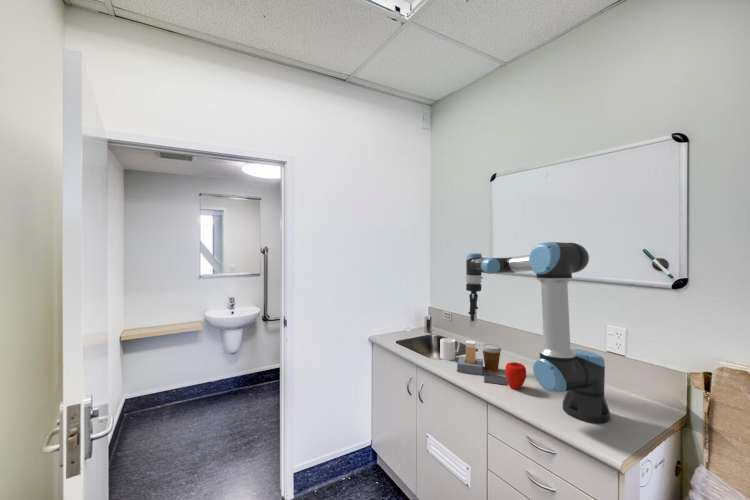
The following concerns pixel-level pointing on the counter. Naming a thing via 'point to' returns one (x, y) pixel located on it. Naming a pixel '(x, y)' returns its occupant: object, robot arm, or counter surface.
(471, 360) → the tall drinking glass
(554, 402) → the counter surface
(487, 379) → the pad
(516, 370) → the apple
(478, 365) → the gray square block
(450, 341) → the cup
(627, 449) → the counter surface
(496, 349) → the disposable coffee cup
